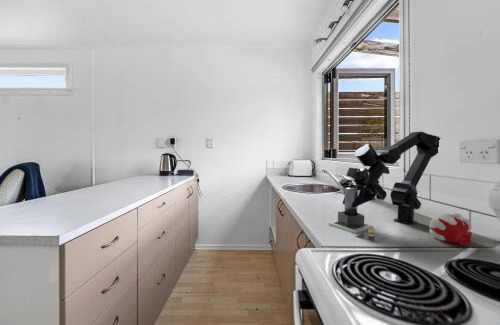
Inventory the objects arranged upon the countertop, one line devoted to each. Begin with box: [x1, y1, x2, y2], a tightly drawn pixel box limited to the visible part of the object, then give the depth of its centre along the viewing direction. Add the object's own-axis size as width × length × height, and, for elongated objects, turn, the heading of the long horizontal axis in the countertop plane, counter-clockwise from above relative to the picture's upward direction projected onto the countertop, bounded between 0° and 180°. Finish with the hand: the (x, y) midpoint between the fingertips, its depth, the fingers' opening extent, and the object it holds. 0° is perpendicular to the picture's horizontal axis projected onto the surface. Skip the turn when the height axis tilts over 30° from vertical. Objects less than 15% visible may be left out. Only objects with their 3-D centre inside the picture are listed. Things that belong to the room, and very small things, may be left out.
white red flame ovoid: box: [428, 212, 473, 246], centre depth 76 cm, size 9×11×15 cm
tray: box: [328, 220, 374, 234], centre depth 90 cm, size 11×11×2 cm
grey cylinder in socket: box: [337, 187, 365, 228], centre depth 90 cm, size 7×7×14 cm
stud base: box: [354, 227, 388, 244], centre depth 78 cm, size 7×7×4 cm
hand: (348, 205), depth 89 cm, fingers open, 4 cm apart
